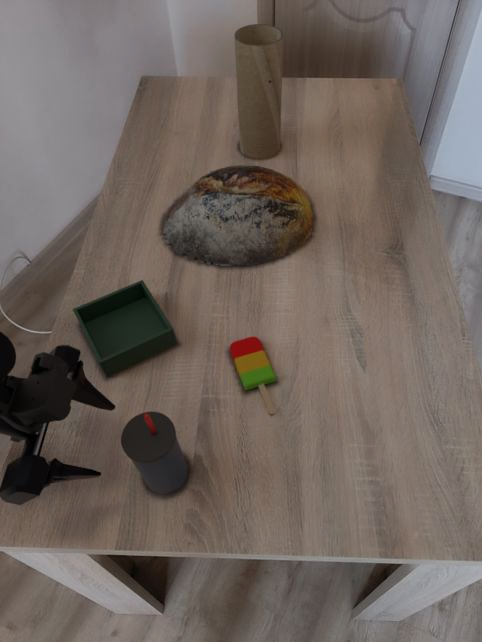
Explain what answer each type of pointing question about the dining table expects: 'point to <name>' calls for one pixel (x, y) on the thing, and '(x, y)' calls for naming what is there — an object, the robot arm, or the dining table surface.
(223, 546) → the dining table surface
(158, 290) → the dining table surface
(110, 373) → the bin
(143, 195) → the dining table surface
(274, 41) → the tube
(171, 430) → the cup with straw
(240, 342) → the popsicle
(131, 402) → the dining table surface
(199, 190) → the bread
